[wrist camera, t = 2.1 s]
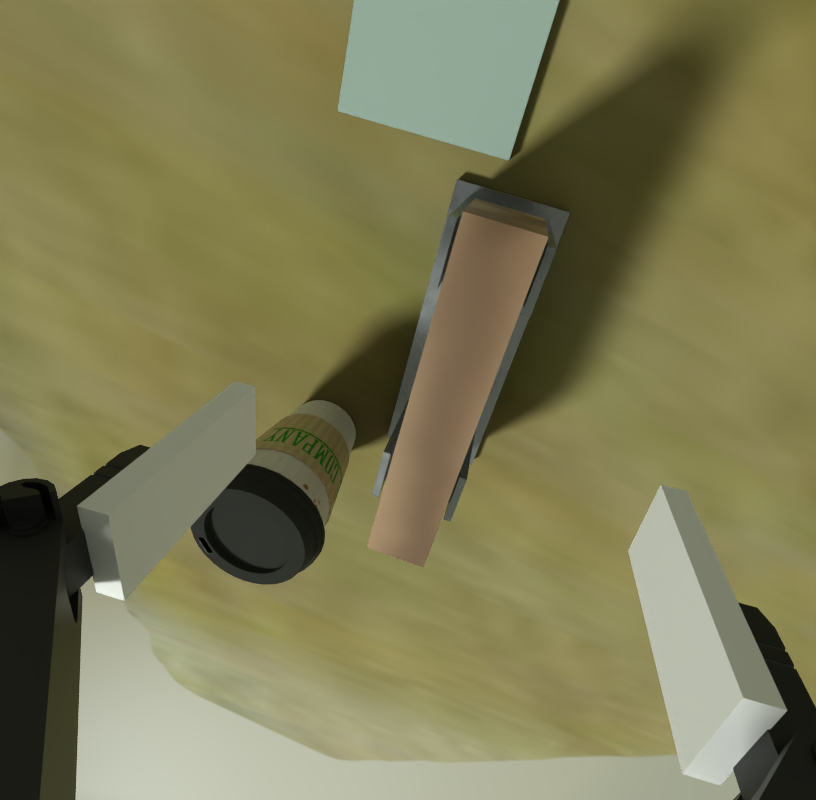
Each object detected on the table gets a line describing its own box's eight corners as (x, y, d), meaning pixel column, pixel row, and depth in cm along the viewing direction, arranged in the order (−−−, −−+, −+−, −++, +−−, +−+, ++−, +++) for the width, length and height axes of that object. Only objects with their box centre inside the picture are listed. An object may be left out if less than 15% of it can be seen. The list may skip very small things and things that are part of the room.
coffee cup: (390, 462, 47) (337, 584, 34) (302, 479, 50) (224, 597, 37) (350, 370, 43) (274, 468, 30) (258, 395, 47) (154, 493, 34)
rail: (388, 492, 38) (366, 547, 33) (475, 198, 28) (462, 211, 22) (437, 509, 38) (423, 567, 33) (544, 218, 27) (548, 236, 22)
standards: (389, 432, 46) (356, 500, 37) (458, 178, 35) (435, 191, 26) (472, 459, 45) (459, 535, 36) (569, 211, 34) (583, 234, 25)
